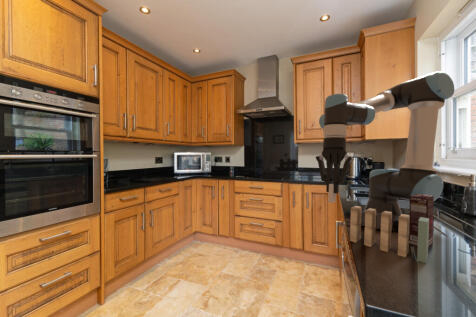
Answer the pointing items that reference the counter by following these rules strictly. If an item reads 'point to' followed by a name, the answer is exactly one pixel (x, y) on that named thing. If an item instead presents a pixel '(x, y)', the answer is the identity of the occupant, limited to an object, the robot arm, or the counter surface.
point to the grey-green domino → (423, 239)
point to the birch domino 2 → (370, 227)
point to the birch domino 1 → (355, 224)
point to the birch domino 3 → (386, 231)
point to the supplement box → (420, 208)
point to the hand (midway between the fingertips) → (331, 201)
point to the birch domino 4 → (403, 235)
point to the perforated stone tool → (378, 219)
